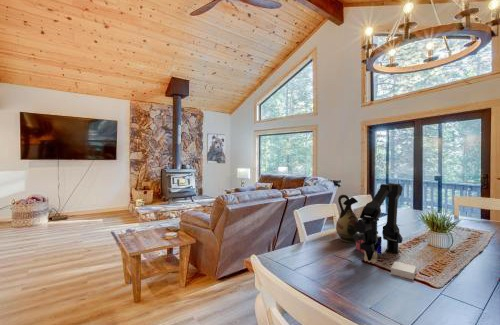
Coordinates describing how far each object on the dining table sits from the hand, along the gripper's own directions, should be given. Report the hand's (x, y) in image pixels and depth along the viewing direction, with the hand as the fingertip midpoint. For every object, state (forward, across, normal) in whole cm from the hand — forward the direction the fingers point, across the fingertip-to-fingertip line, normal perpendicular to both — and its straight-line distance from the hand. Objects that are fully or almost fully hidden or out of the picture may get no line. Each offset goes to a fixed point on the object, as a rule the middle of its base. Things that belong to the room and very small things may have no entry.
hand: (370, 258), depth 135 cm
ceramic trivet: (+1, +5, +16) cm, 17 cm away
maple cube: (+1, 0, 0) cm, 1 cm away
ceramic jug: (+1, -24, -21) cm, 32 cm away
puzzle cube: (+1, -13, -5) cm, 14 cm away
